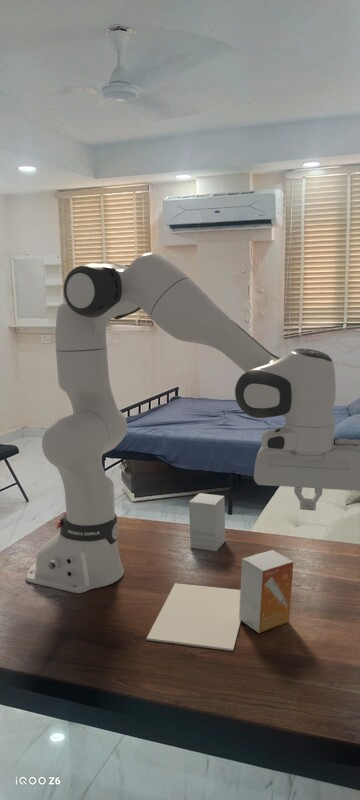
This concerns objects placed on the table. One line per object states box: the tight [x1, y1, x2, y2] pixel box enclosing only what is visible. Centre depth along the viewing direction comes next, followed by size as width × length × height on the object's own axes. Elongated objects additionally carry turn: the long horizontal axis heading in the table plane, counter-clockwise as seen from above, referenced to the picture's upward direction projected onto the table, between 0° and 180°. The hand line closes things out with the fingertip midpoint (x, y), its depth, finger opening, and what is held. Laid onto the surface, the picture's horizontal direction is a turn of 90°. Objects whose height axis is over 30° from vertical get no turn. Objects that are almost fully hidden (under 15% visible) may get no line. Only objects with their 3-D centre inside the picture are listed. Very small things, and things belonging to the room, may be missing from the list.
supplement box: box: [188, 492, 226, 552], centre depth 152 cm, size 7×7×13 cm
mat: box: [146, 582, 242, 652], centre depth 119 cm, size 16×22×1 cm
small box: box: [239, 549, 294, 634], centre depth 115 cm, size 8×6×13 cm
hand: (307, 509), depth 110 cm, fingers closed
